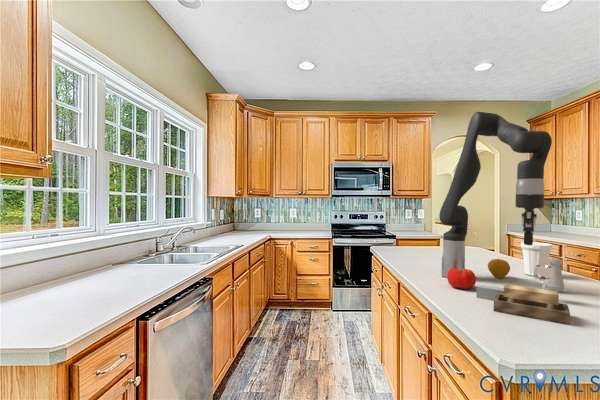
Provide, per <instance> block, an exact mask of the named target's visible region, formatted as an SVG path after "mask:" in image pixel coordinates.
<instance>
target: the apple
mask: <svg viewBox="0 0 600 400" xmlns="http://www.w3.org/2000/svg"><path fill="white" fill-rule="evenodd" d="M487 269H488V271H489V273H491V275H492V276H493V277H494V278H496V279H499V278H502V279H504V278H505V277H506V276H507V275H508V274H509V273H510V271H511V266H510V263H509V262H508V261H507V260H505V259H501V258H493V259H491V260H490V261H488V263H487Z"/></svg>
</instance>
